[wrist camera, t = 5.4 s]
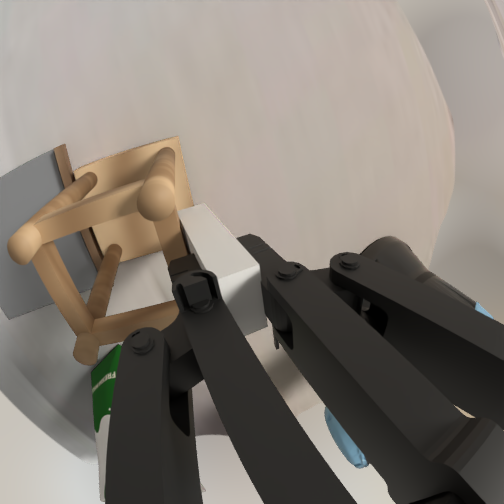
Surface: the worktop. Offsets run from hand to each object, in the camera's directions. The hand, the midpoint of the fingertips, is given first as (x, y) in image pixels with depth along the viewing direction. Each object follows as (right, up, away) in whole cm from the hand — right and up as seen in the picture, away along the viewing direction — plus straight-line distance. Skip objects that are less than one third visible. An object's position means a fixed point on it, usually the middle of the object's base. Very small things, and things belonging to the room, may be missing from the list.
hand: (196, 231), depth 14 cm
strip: (-12, +2, +7) cm, 14 cm away
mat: (-19, -1, +5) cm, 20 cm away
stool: (-7, +3, +8) cm, 11 cm away
